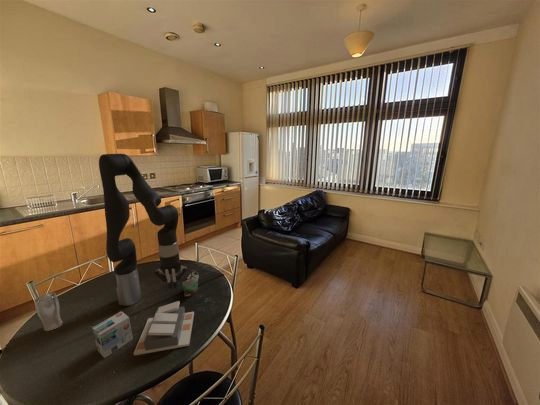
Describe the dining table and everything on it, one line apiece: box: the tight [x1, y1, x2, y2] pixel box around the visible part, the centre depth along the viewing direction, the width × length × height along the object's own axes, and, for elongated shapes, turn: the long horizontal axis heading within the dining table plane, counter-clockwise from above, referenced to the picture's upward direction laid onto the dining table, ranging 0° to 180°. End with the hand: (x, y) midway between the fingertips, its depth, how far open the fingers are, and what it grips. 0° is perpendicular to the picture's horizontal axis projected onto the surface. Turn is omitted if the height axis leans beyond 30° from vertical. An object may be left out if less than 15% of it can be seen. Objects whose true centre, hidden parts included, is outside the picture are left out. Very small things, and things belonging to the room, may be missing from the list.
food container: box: [181, 269, 200, 298], centre depth 119 cm, size 12×6×10 cm, turn 179°
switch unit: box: [133, 305, 195, 356], centre depth 93 cm, size 20×18×6 cm
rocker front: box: [148, 324, 176, 335], centre depth 87 cm, size 9×4×1 cm, turn 103°
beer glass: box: [34, 292, 64, 332], centre depth 95 cm, size 7×7×15 cm
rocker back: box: [157, 300, 181, 313], centre depth 98 cm, size 9×4×1 cm, turn 102°
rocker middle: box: [153, 312, 178, 324], centre depth 92 cm, size 9×4×1 cm, turn 103°
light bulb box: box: [92, 311, 133, 359], centre depth 87 cm, size 11×7×11 cm, turn 148°
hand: (173, 288), depth 96 cm, fingers closed
